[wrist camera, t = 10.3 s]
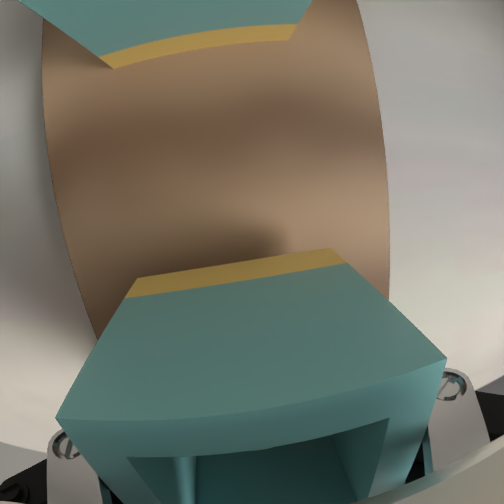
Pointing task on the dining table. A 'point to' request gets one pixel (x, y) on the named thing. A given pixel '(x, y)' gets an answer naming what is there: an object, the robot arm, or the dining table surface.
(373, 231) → the pin board
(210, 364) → the sleeve
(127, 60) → the seated sleeve
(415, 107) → the dining table surface
